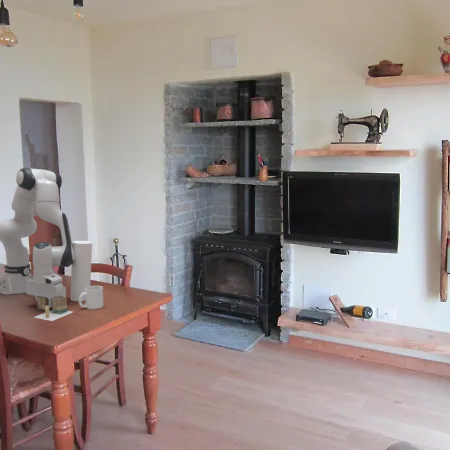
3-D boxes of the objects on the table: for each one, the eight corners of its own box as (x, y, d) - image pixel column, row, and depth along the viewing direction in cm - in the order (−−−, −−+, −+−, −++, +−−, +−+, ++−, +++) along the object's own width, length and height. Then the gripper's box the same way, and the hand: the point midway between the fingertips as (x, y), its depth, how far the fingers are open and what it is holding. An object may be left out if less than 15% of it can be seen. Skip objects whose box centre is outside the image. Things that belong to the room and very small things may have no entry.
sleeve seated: (52, 312, 238) (51, 298, 237) (59, 309, 242) (59, 295, 241) (60, 314, 236) (59, 299, 235) (67, 311, 240) (67, 296, 239)
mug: (82, 314, 240) (81, 292, 238) (75, 309, 246) (74, 288, 245) (106, 309, 248) (105, 288, 246) (98, 305, 254) (98, 284, 252)
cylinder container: (84, 303, 255) (86, 243, 252) (67, 301, 257) (68, 241, 253) (93, 298, 264) (95, 240, 261) (76, 296, 266) (78, 239, 263)
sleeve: (37, 311, 243) (36, 297, 242) (45, 308, 248) (44, 294, 246) (45, 313, 241) (44, 298, 240) (52, 310, 246) (52, 295, 244)
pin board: (33, 319, 232) (32, 306, 231) (55, 310, 244) (55, 298, 243) (52, 323, 227) (51, 310, 226) (73, 314, 240) (73, 301, 239)
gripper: (21, 276, 243) (23, 304, 245) (55, 281, 235) (56, 310, 237) (31, 273, 249) (33, 301, 251) (65, 278, 241) (66, 306, 243)
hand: (44, 305), depth 244 cm, fingers closed on sleeve, 4 cm apart
